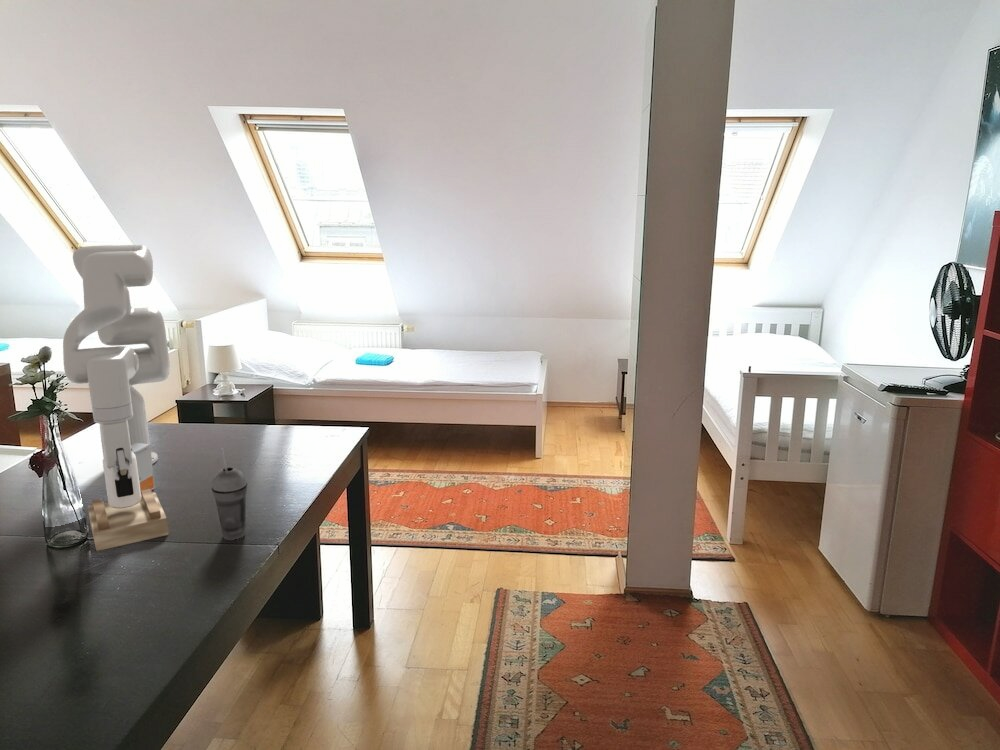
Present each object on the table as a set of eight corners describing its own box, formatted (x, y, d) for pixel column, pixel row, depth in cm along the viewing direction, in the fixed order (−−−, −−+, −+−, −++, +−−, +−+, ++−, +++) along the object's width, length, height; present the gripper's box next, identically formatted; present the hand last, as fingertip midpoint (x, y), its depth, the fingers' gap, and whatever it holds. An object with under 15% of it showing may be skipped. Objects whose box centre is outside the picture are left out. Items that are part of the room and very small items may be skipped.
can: (108, 511, 157) (101, 458, 154) (108, 500, 163) (101, 449, 160) (142, 505, 160) (135, 453, 157) (140, 494, 166) (134, 444, 162)
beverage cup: (231, 546, 155) (222, 457, 150) (209, 537, 159) (200, 451, 154) (258, 533, 161) (251, 447, 156) (236, 525, 165) (229, 441, 160)
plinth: (89, 522, 166) (86, 499, 164) (157, 508, 173) (154, 486, 172) (96, 551, 153) (92, 527, 151) (168, 534, 160) (165, 511, 159)
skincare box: (140, 498, 178) (134, 452, 175) (124, 496, 179) (118, 450, 176) (156, 488, 184) (150, 443, 181) (141, 487, 185) (135, 442, 182)
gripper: (89, 404, 161) (100, 480, 166) (96, 425, 147) (108, 508, 152) (127, 399, 165) (136, 473, 170) (137, 419, 151) (148, 500, 155)
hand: (123, 489), depth 160 cm, fingers closed on can, 6 cm apart
